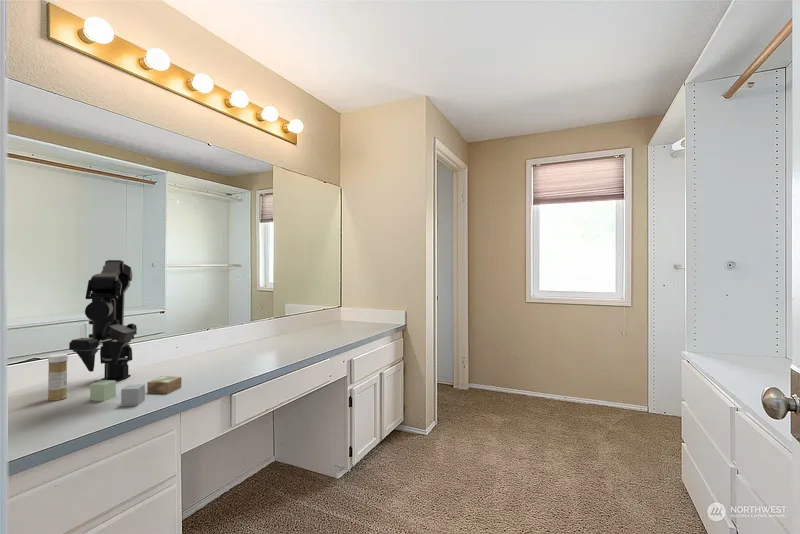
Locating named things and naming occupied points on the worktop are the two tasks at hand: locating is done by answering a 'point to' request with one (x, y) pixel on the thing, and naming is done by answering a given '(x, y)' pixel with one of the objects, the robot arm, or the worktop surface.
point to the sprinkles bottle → (57, 376)
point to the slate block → (133, 395)
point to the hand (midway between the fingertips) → (103, 367)
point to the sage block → (102, 390)
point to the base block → (163, 384)
